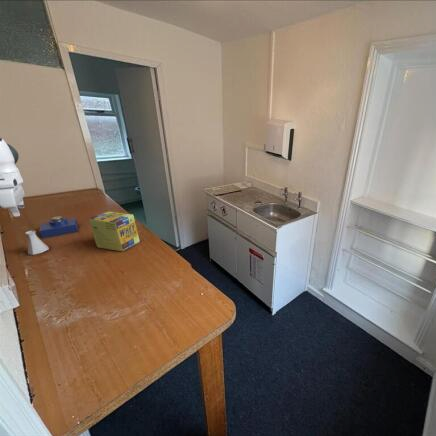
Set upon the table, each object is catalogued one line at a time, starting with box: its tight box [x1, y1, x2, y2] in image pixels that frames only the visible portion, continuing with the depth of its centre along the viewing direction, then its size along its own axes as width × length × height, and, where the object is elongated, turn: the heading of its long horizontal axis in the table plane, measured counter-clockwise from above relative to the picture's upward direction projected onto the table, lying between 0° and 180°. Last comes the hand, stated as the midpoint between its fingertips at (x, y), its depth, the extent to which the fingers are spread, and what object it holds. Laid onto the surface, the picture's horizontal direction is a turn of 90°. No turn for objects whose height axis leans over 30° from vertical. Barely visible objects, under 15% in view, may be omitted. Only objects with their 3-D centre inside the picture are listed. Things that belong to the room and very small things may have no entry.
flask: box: [24, 230, 50, 256], centre depth 107 cm, size 7×7×10 cm
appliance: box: [39, 217, 79, 239], centre depth 127 cm, size 14×11×6 cm
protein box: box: [87, 211, 140, 252], centre depth 114 cm, size 10×15×16 cm
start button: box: [51, 215, 63, 222], centre depth 127 cm, size 4×4×2 cm
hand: (19, 212), depth 96 cm, fingers open, 8 cm apart
